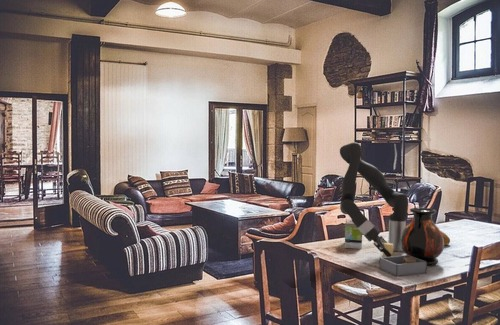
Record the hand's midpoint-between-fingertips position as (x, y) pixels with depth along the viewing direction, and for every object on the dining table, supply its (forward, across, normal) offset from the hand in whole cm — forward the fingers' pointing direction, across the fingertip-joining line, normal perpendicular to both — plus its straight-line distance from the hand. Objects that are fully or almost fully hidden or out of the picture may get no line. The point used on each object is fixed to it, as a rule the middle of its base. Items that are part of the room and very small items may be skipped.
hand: (391, 255), depth 241 cm
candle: (+2, 0, +4) cm, 5 cm away
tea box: (-15, +30, +22) cm, 40 cm away
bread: (+10, +61, -3) cm, 62 cm away
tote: (+8, -12, -2) cm, 14 cm away
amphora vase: (+13, +10, -7) cm, 18 cm away
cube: (+10, -9, -4) cm, 14 cm away
